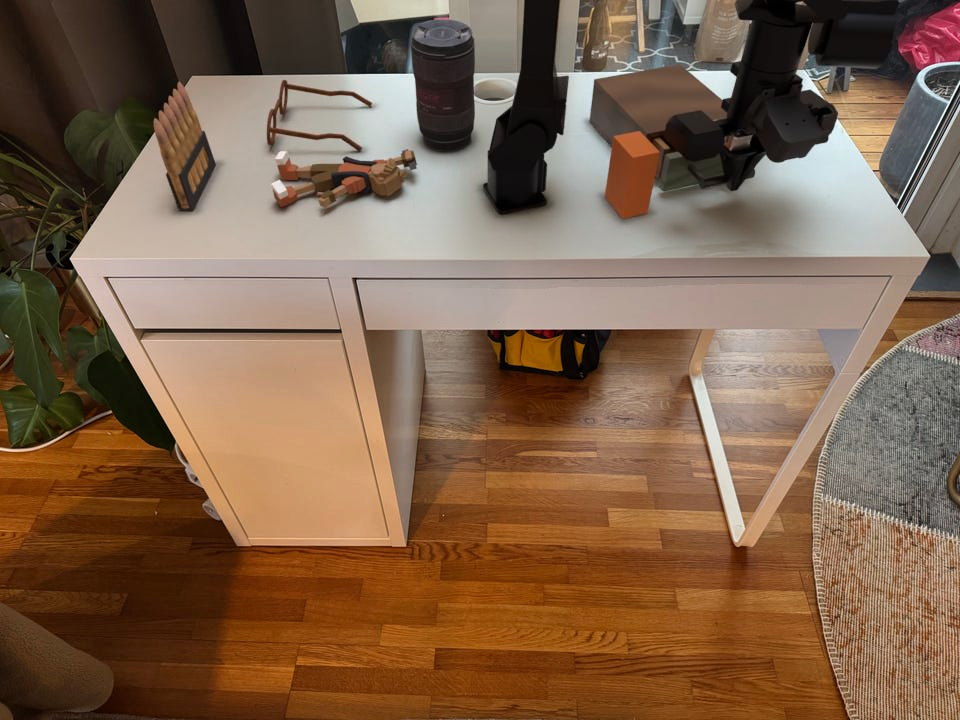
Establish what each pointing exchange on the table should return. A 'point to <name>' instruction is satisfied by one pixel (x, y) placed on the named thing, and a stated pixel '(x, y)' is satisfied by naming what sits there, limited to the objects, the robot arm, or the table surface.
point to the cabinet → (649, 101)
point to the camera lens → (444, 82)
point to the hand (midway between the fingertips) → (731, 189)
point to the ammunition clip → (184, 150)
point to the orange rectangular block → (631, 174)
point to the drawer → (686, 169)
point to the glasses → (299, 134)
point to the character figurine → (342, 177)
